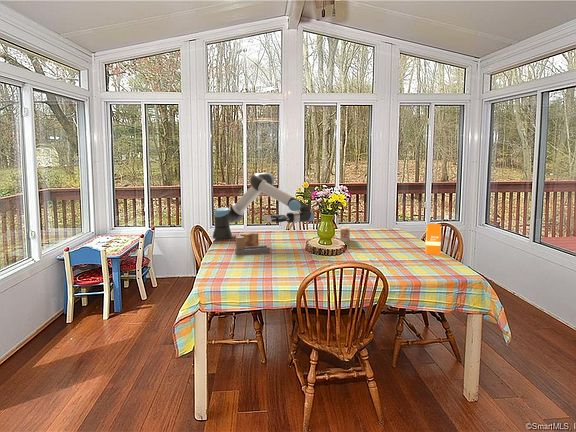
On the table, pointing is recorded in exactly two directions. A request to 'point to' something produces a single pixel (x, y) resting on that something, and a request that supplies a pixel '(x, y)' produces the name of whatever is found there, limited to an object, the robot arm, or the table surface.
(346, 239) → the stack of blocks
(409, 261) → the table surface
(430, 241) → the orange juice
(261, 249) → the base rail
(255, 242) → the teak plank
